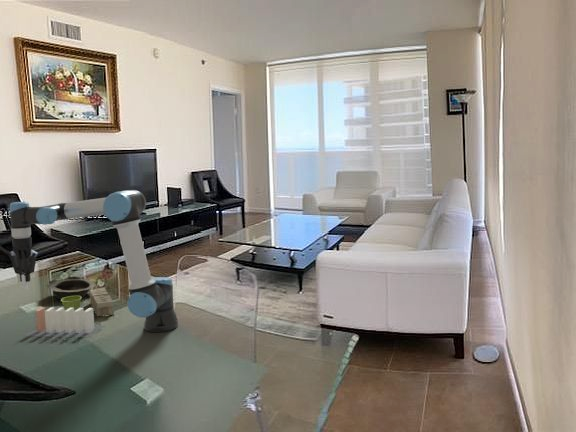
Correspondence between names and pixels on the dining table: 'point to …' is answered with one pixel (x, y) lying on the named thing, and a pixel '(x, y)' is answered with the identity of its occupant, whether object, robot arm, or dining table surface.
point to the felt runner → (64, 333)
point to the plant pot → (71, 302)
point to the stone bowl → (70, 287)
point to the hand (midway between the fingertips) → (25, 288)
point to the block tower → (101, 302)
